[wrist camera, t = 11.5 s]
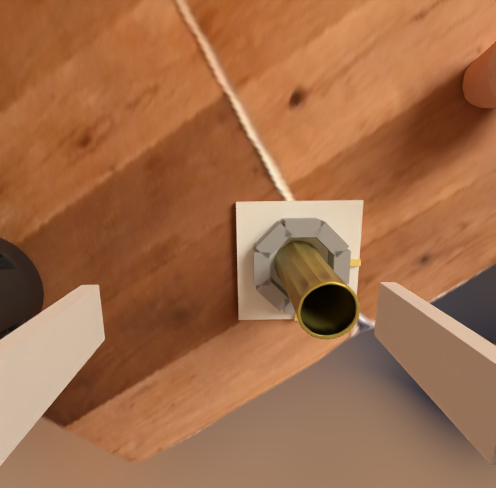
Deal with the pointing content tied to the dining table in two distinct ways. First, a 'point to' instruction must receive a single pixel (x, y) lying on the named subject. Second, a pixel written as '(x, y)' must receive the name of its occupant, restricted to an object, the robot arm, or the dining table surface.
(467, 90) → the potted plant
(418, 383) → the robot arm
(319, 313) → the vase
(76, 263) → the dining table surface
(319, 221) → the socket
